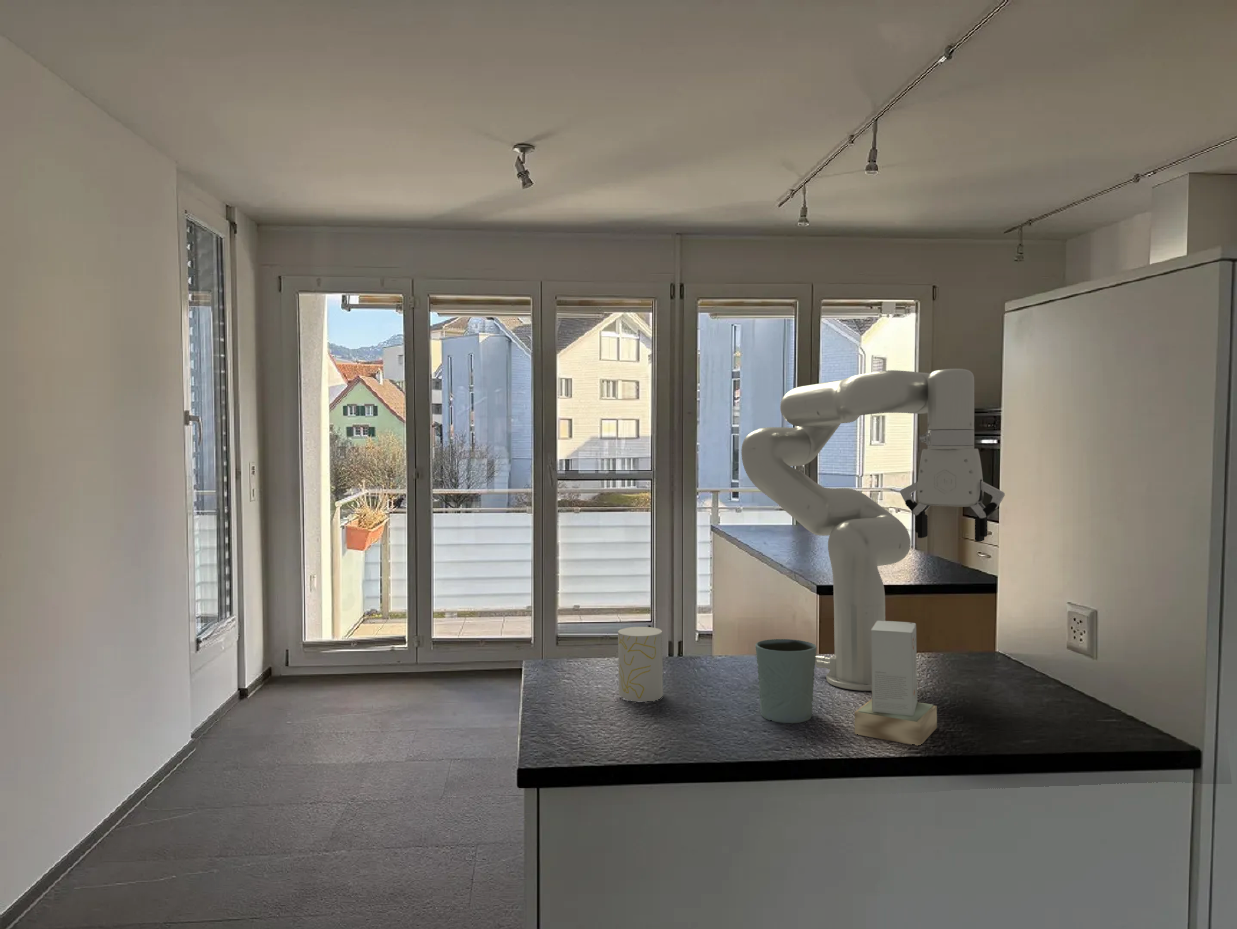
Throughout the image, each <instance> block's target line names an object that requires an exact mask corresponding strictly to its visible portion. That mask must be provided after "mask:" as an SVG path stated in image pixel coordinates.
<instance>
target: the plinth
mask: <svg viewBox="0 0 1237 929" xmlns="http://www.w3.org/2000/svg"><path fill="white" fill-rule="evenodd" d="M937 710H938V706H937V705H934V704H933V703H931V704H930V703H926V702H925V703H924V702H919V701H917V705H916V709H915V712H914V715H913V716H907V715H897V714H888V713H878V712H873V711H872V698H871V699H869V700H868V701H867V702H866V703H865V704H863V705H861V706H860V707H859V708H858V709H857V710H855V711H854V735H857V734H858V736H863V737H869V738H874V739H879V740H886V741H889V742H891V741H892V742H895V743H896V742H897V743H901V744H908V745H912V744H915V745H914V746H918V745H921V744H922V745H923V744H924V743H925V741H926V740H927V739H928V738H929V737H930V736H931V735H932V734H933V733H934V731H936V729H937V728H938V715H937V714H938V711H937ZM922 745H921V746H922Z"/></svg>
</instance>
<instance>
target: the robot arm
mask: <svg viewBox="0 0 1237 929" xmlns="http://www.w3.org/2000/svg"><path fill="white" fill-rule="evenodd" d="M780 401H781V402H780V406H779V408H780V413H781V416H782V417H783V419H784V420H785V421H786V423H789V424H790V425H792V426H794V427H783V426H781V427H780V426H779V427H777V426H775V427H774V426H772V427H771V426H770V427H762V428H758V429H757V428H756V429H755V430H753V431H751V432H749V434H747V435H746V436H745V438H744V439H743V442H742V444H741V452H740V453H741V460H742V461H741V462H742V465H743V468H744V471H745V473H746V476H747V477H748V478H749V480H750V482H751V483H752V484H753V485H754V486H755V487H756V488H757V489H758V490H759V491H760V492H762V493H763V494H765V496H766V497H768V498H770V499H771V500H772V501H773V502H774V503H776V504H777V505H778V506H779V507H780V508H781V509H783V510H784V511H785V513H787V514H788V515H790V516H791V517H792V518H793V519H794V520H795V521H797V523H799V524H800V525H801V526H803V528H804V529H806V530H807V531H808V532H810V533H812V535H815V536H820V537H821V536H825V537H826V536H828V539H827V540H828V541H827V550H828V557H829V562H830V565H831V567H830V568H831V573H832V583H833V587H832V588H833V618H834V620H833V625H834V626H833V628H834V629H833V630H834V632H833V633H834V634H833V636H834V637H833V638H834V640H833V641H834V646H833V647H834V655H831V657H829V656H826V655H825V656H823V655H816V659H815V666H816V668H821V669H827V670H828V671H829V672H827V674H826V682H827V683H828V684H830V685H832V686H834V687H836V688H841V689H845V690H849V691H850V690H851V691H852V690H853V691H861V692H862V691H863V692H872V670H871V629H872V627H873V626H874V624H875V623H876V621H886V592H885V586H884V582H883V579H882V577H881V574H880V571H879V568H878V567H883V566H888V565H893V564H896V563H899V562H901V561H902V560H904V559H905V558H906V556H908V554H909V552H910V550H911V541H912V540H911V536H910V534H909V531H908V529H907V527H906V526H905V525H904V523H903V522H901V521H900V519H899V518H897V517H896V516H895V515H893V514H892V513H891V512H890V511H888V510H886V509H885V508H884V507H883V506H881V505H880V504H879V503H877V502H876V501H875V500H873V499H872V498H871V497H869V496H868V495H866V494H865V493H863V492H861V491H859V490H856V489H852V488H848V487H847V488H846V487H842V488H839V487H838V488H836V487H835V488H830V487H829V488H828V487H825V486H822V485H820V484H819V483H817V482H816V481H814V480H813V479H812V478H811V477H809V476H808V475H807V474H805V473H804V472H802V471H801V470H799V469H797V468H795V467H801V466H805V465H808V464H809V463H811V462H812V461H813V460H815V458H816V457H817V456H818V454H820V452H821V451H822V449H823V448H824V447H825V445H827V443H828V441H830V439H831V438H832V437H833V435H834V434H835V432H837V430H838V429H839V427H840V426H841V424H849V423H854V422H855V421H857V420H858V419H859V417H860V416H865V415H874V414H875V415H876V414H877V415H878V414H895V413H896V414H914V415H917V414H918V415H919V414H920V415H922V414H927V430H926V432H925V433H924V434H919V442H920V443H925V445H926V446H927V448H922V450H921V454H920V461H919V466H918V476H917V481H916V482H914V483H912V484H910V485H908V486H906V487H904V488H902V489H900V490H899V493H900V495H901V497H902V499H903V501H904V503H905V505H906V507H907V508H908V509H909V510H910V511H911V512H912V514H913V515H914V518H915V522H914V524H915V527H914V528H915V529H914V531H915V533H916V534H917V538H918V539H923V538H926V537H928V536H929V535H928V534H929V533H928V532H929V531H928V527H929V526H928V525H929V524H928V522H929V520H928V518H929V517H928V515H927V513H926V512H927V510H928V509H929V508H930V507H931V506H934V507H937V506H938V507H959V508H963V507H965V508H967V507H970V508H971V509H972V510H973V512H974V513H975V514H976V518H975V519H974V541H975V542H977V543H979V542H984V541H985V538H986V537H988V518H989V517H990V516H991V515H992V514H993V513H994V512H995V511H996V510H997V509H998V508H999V505H1000V504H1001V503H1002V501H1003V499H1004V498H1005V496H1006V495H1005V492H1004V491H1002V490H1000V489H998V488H996V487H994V486H992V485H990V484H989V483H987V482H985V481H984V480H983V479H984V477H983V469H982V461H981V456H980V450H979V448H975V375H974V373H973V372H972V371H971V370H969V369H965V368H944V369H936V370H933V371H931V373H930V372H919V371H910V370H896V369H894V370H892V369H890V370H880V371H874V372H868V373H862V374H856V375H852V376H849V377H847V378H844V379H839V380H833V381H827V382H820V383H815V384H808V385H801V386H797V387H793V388H792V389H790V390H789V391H787V392H786V393H785V394H784V395H783V396H782V399H781V400H780ZM915 492H916V494H917V495H916V497H917V501H918V502H916V500H915V499H914V498H913V496H912V494H913V493H915ZM984 492H985V493H987V494H988V495H991V497H992V498H991V500H990V502H989V503H988V505H986V506H985V505H984V504H983V501H984Z"/></svg>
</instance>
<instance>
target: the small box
mask: <svg viewBox="0 0 1237 929" xmlns="http://www.w3.org/2000/svg"><path fill="white" fill-rule="evenodd" d="M917 659H918V658H917V623H915V622H909V621H895V620H894V621H893V620H885V621H876V623H875V624H874V626H873V627H872V629H871V670H872V691H871V699H872V711H873V712H878V713H888V714H897V715H907V716H913V715H914V712H915V709H916V705H917V702H918V682H917V681H918V679H917V678H918V674H917V669H918V668H917V666H918V665H917V664H918V663H917V662H918V661H917Z"/></svg>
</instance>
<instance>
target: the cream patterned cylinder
mask: <svg viewBox="0 0 1237 929" xmlns="http://www.w3.org/2000/svg"><path fill="white" fill-rule="evenodd" d="M617 643H618V644H617V648H618V649H617V650H618V652H617V653H618V656H617V657H618V658H617V659H618V660H617V661H618V662H617V664H618V666H617V667H618V696H619V695H620V696H621V697H623V698H625V699H628V700H632V701H653V702H656V701H655V700H657V701H659V700H658V699H660V698H661V697H662V696H663V697H664V685H663V681H664V679H663V678H664V677H663V676H664V674H663V671H664V670H663V630H662V629H660V628H658V627H657V628H656V627H649V626H629V627H624V628H621V629H619V630H617ZM663 697H662V698H663ZM662 698H661V699H662ZM661 699H660V700H661Z"/></svg>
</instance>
